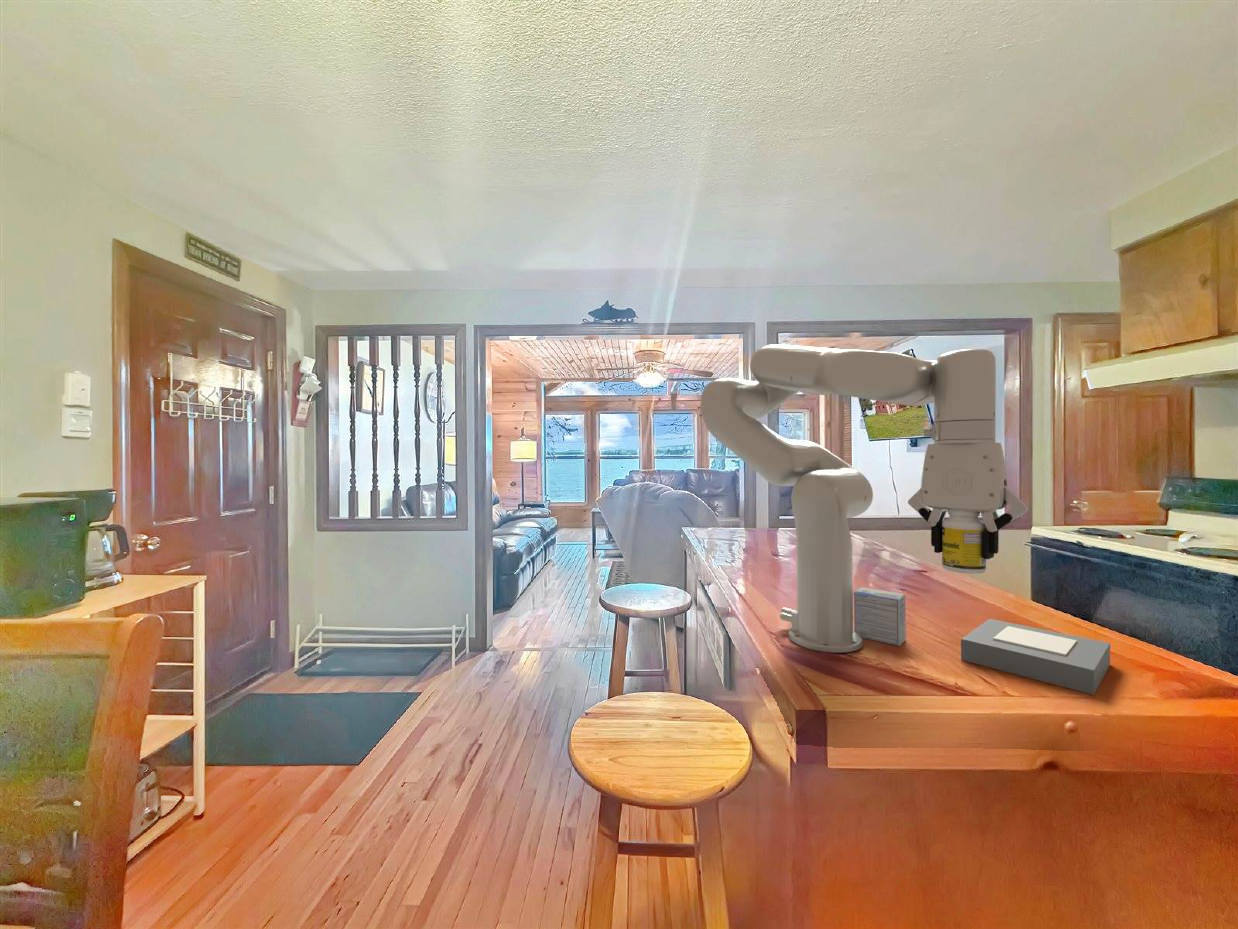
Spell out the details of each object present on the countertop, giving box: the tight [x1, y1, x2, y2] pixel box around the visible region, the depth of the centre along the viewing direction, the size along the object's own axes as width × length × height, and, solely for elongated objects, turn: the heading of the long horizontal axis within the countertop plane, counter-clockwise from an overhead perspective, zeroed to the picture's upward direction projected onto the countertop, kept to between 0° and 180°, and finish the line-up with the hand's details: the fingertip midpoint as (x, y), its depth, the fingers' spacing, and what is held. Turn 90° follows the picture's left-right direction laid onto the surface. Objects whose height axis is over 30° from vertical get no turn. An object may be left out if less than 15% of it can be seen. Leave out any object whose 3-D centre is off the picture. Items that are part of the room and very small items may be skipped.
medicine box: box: [853, 587, 907, 647], centre depth 91 cm, size 8×4×9 cm, turn 47°
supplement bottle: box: [941, 509, 987, 575], centre depth 73 cm, size 5×5×10 cm
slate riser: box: [960, 618, 1111, 696], centre depth 80 cm, size 16×16×4 cm
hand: (963, 553), depth 73 cm, fingers closed on supplement bottle, 5 cm apart
